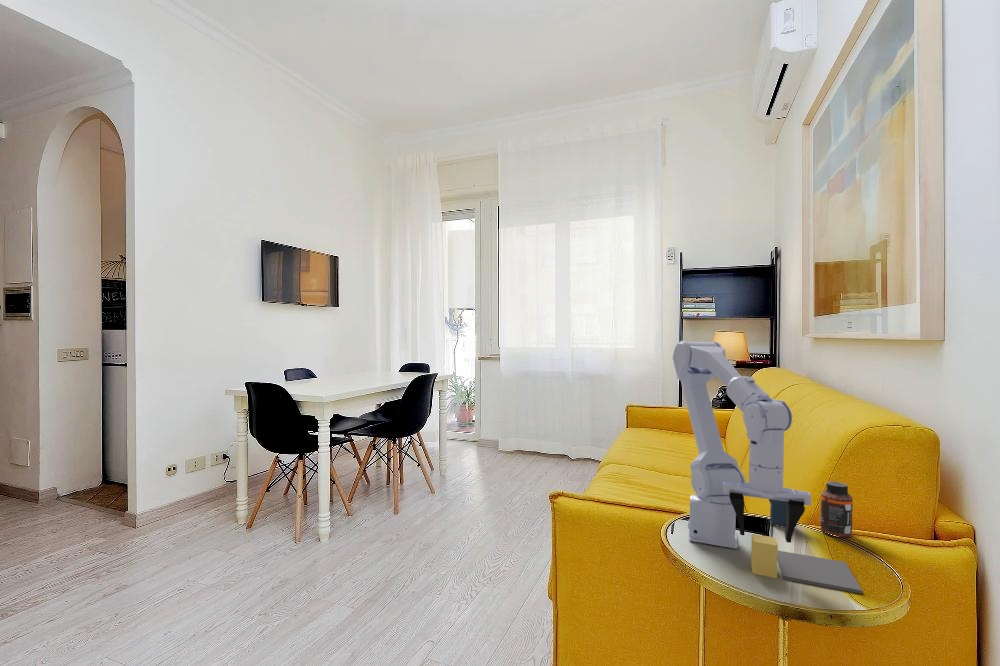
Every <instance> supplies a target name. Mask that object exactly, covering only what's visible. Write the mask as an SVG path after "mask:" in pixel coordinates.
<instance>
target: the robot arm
mask: <svg viewBox="0 0 1000 666" xmlns="http://www.w3.org/2000/svg"><path fill="white" fill-rule="evenodd" d="M726 353H727V352H726V349H725V347H723V346H722V345H721V343H719V342H718V341H710V342H708V341H685V340H680V341H679V342H678V343H677V344H676V345H675V348H674V350H673V355H672V361H673V365H674V369H675V372H676V376H677V377H676V378H677V379H678V380H679V381H680V383H681V387H682V392H683V395H684V399H685V404H686V408H687V411H688V415H689V419H690V423H691V428H692V431H693V434H694V439H695V442H696V443H695V444H696V447H697V451H698V455H697V456H696V457H695V458H694V460H693V461H692V462H691V463H690V465H689V466H690V472H691V480H690V481H691V482H690V483H691V487H692V489H693V491H694V492H695V493H694V494H690V498H689V519H688V522H687V529H689V530H688V531H689V532H688V534H689V535H688V541H690V542H695V543H701V544H706V545H712V546H717V547H718V546H719V547H724V548H730V549H734V550H737V549H739V544H738V537H737V535H738V534H736V524H737V523H736V518H737V522H738V526H739V534H740V535H741V536H745V531H746V530H745V498H744V497H752V498H756V499H757V498H758V499H765V500H766V499H767V500H769V499H772V500H780V501H786V527H784V529H785V530H784V537H785V541H786V543H789V544H791V543H792V539H793V534H794V533H795V532H794V531H795V528H796V527H797V525H798V523H799V522H800V519H801V518H802V516H803V515H804V513H805V510H806V507H805V506H810V507H811V506H812V495H811V493H810V492H809V491H804V490H803V491H802V490H799V489H798V490H797V489H792V488H789V487H788V488H787V487H784V461H785V459H784V458H785V457H784V456H785V454H784V453H785V432H786V431H788V430H789V429H790V427H791V425H792V423H793V414H792V411H791V408H790V407H789V405H788V404H787V403H786V402H785V401H784V400H781V399H778V400H777V399H775V398H772V397H770V395H769V394H768V393H767V392H766V391H764V390H763V389H762V387H760V385H758V383H756V379H754V378H753V377H752V376H747V375H741V374H740V372H739V371H737V369H736V368H735V367H734V366H733V364H732V363H731V362H730V361H729V359H728V358H727V356H726ZM714 377H716V378H717V379H718V380H719V381H721V383H722V384H724V385H725V386H726V389H725V390H726V391H725V393H726V395H727V396H728V398H729V399H730V400H731V402H733V403H734V405H736V407H737V408H738V409H739V410H740V411H741V412H742V420H743V424H744V425H745V428H746V429H745V430H746V436H747V439H749V450H748V451H749V457H748V458H749V460H748V461H749V464H748V482H747V481H746V478H745V475H744V474H743V471H742V470H741V469H740V467H739V464H738V461H737V459H736V458H735V457H733V456H732V455H730V454H729V453H727V452H726V451H725V450H724V446H723V443H722V439H721V435H720V432H719V428H718V424H717V420H716V417H715V413H714V410H713V406H712V402H711V398H710V396H709V391H708V388H707V387H708V386H707V384H708V382H710V381H712V380H713V379H714ZM695 494H696V495H695Z"/></svg>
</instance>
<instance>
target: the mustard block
mask: <svg viewBox="0 0 1000 666" xmlns="http://www.w3.org/2000/svg"><path fill="white" fill-rule="evenodd" d="M750 543H751V545H750V546H751V547H750V548H751V549H750V550H751V551H750V555H751V556H750V566H751V572H752V575H753V574H754V575H759V576H763V577H769V578H773V579H777V578H778V560H777V554H778V551H779V550H778V548H779V547H778V542H777V539H776V537H773V536H767V535H760V534H754V533H751V542H750Z"/></svg>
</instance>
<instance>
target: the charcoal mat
mask: <svg viewBox="0 0 1000 666" xmlns="http://www.w3.org/2000/svg"><path fill="white" fill-rule="evenodd" d="M777 564H778V566H779V570H780V573H781V576H782V579H783V580H785V581H790V582H791V581H792V582H796V583H797V582H798V583H801V584H807V585H813V586H816V587H817V586H818V587H824V588H829V589H835V590H839V591H844V592H850V593H855V594H861V595H863V589H862V588H861V586H860V584H859V583H858V581H857V579H856V577H855V576H854V574H853V573H852V571H851V569H850V568H849V566H848V564H847V562H846V561H842V560H837V559H830V558H825V557H819V556H814V555H813V556H812V555H806V554H800V553H794V552H790V551H782V550H778V554H777Z"/></svg>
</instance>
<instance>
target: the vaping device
mask: <svg viewBox="0 0 1000 666" xmlns="http://www.w3.org/2000/svg"><path fill="white" fill-rule="evenodd" d="M768 501H769V503H770V505H769V512H770V513H769V523H770V522H771V524H772V525H771V524H770V525H771V526H774V525H778V526H777V527H780V526H783V527H782V528H786V501H780V500H772V499H768Z"/></svg>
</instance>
